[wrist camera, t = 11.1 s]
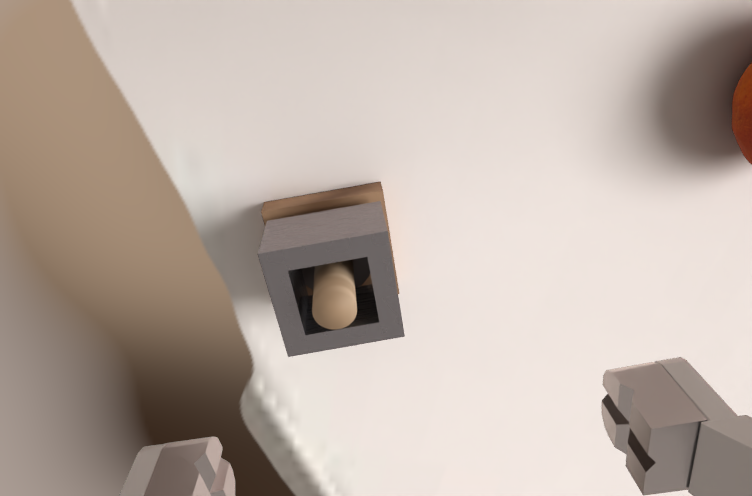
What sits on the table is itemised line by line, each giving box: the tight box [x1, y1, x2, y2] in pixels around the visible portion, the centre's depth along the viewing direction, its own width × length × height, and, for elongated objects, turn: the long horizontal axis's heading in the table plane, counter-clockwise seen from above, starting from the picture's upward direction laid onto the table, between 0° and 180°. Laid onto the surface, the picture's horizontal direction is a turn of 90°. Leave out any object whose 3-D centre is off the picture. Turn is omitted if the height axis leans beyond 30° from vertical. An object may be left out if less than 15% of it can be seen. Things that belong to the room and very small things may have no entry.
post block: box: [261, 182, 399, 329], centre depth 28 cm, size 7×7×8 cm
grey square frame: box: [258, 201, 404, 357], centre depth 28 cm, size 6×6×4 cm
